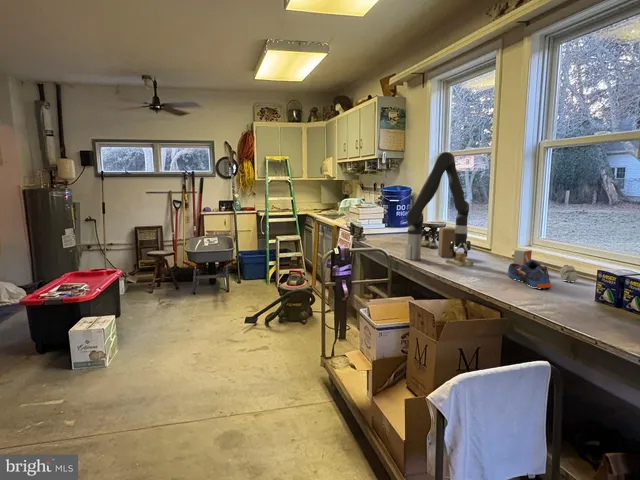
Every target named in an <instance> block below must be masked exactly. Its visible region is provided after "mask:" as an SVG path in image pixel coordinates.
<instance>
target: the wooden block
mask: <svg viewBox="0 0 640 480" xmlns="http://www.w3.org/2000/svg"><path fill="white" fill-rule="evenodd" d="M450 242H455V227H439V230H438V247H437V248H438V249H437V252H438V253H437V254H438V256H440V257H441V258H453V257H452V251H450ZM454 246H455V245H454Z"/></svg>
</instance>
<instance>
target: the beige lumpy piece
mask: <svg viewBox="0 0 640 480" xmlns="http://www.w3.org/2000/svg"><path fill="white" fill-rule="evenodd" d="M575 270H576V268H575V267H574V265H569V264H565V265H562V267H561V268H559V275H560V277H561V281H562V280H567V281H574V282H576V281H578V273H577V272H576V271H575Z"/></svg>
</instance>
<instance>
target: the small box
mask: <svg viewBox="0 0 640 480" xmlns="http://www.w3.org/2000/svg"><path fill="white" fill-rule="evenodd" d="M531 260H532V249H528V248H527V249H526V248H518V249H514V251H513V263H514V264H519V265H522V264H525V262H528V261H531Z"/></svg>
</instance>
